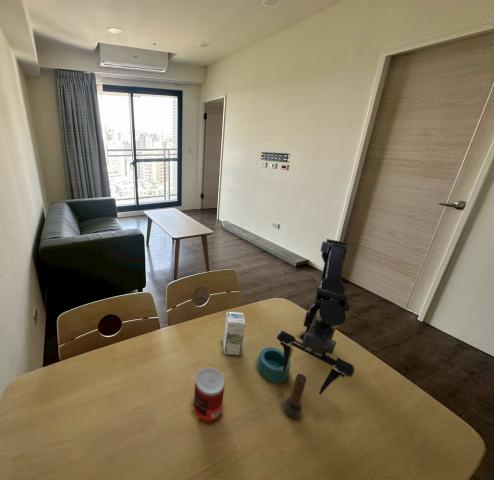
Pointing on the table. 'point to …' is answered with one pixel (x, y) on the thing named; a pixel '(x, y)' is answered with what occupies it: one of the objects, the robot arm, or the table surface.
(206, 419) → the canned food
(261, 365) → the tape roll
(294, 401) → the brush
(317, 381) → the table surface
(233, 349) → the syrup box
